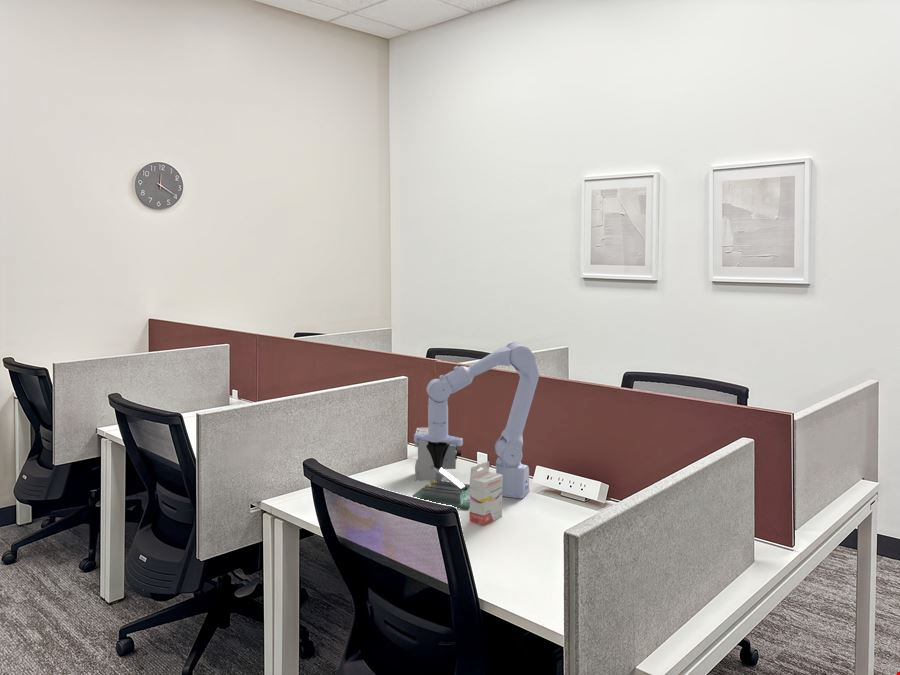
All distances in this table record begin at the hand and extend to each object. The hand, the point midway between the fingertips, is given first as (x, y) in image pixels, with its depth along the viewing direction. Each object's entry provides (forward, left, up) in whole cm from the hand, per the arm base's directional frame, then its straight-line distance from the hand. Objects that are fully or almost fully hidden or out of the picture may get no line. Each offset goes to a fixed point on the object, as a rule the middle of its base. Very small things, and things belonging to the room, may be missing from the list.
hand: (438, 467), depth 202 cm
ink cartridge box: (-19, +11, -9) cm, 23 cm away
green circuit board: (-3, 0, -9) cm, 9 cm away
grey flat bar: (-3, 0, -3) cm, 5 cm away
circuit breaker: (+7, -17, -9) cm, 21 cm away
